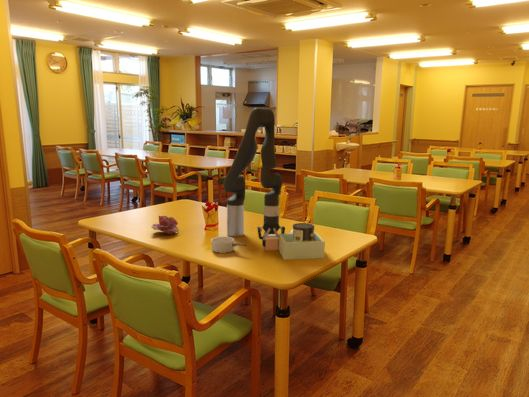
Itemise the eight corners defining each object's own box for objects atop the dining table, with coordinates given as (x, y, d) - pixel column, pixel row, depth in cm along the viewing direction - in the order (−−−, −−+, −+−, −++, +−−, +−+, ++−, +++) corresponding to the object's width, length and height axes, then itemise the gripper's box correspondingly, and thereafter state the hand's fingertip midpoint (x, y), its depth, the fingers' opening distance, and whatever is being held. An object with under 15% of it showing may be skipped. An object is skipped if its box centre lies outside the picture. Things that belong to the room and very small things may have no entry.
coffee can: (314, 251, 202) (315, 223, 200) (312, 258, 192) (313, 228, 190) (293, 249, 204) (294, 222, 202) (290, 256, 194) (291, 227, 192)
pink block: (265, 250, 203) (265, 237, 202) (263, 246, 209) (263, 234, 208) (278, 250, 204) (278, 237, 202) (276, 246, 210) (276, 233, 209)
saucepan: (239, 259, 190) (238, 247, 189) (206, 251, 201) (206, 240, 200) (253, 252, 200) (253, 241, 199) (221, 245, 211) (221, 235, 209)
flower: (149, 232, 223) (154, 214, 223) (151, 229, 237) (155, 212, 237) (176, 239, 226) (181, 221, 226) (176, 235, 240) (181, 218, 240)
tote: (283, 259, 190) (284, 242, 188) (278, 249, 205) (278, 233, 203) (324, 258, 193) (324, 241, 191) (315, 247, 208) (316, 232, 206)
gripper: (257, 216, 198) (257, 249, 202) (287, 215, 200) (286, 248, 203) (255, 212, 206) (255, 245, 209) (284, 212, 208) (283, 244, 211)
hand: (271, 246), depth 206 cm, fingers closed on pink block, 6 cm apart
